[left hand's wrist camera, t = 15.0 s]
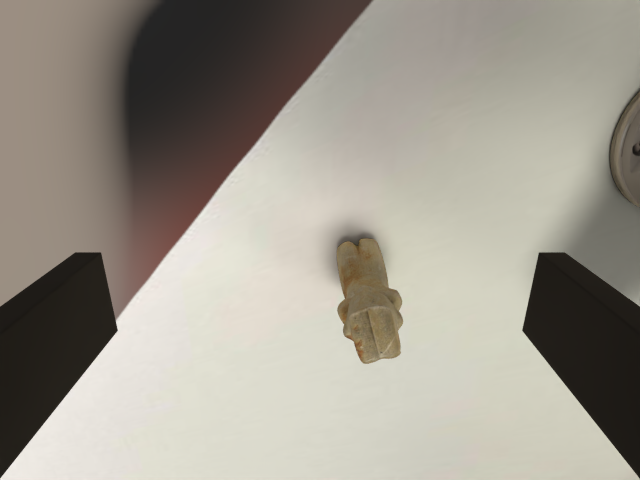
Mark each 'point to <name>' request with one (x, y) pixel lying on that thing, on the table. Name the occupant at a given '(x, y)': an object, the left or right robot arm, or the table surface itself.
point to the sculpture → (368, 302)
